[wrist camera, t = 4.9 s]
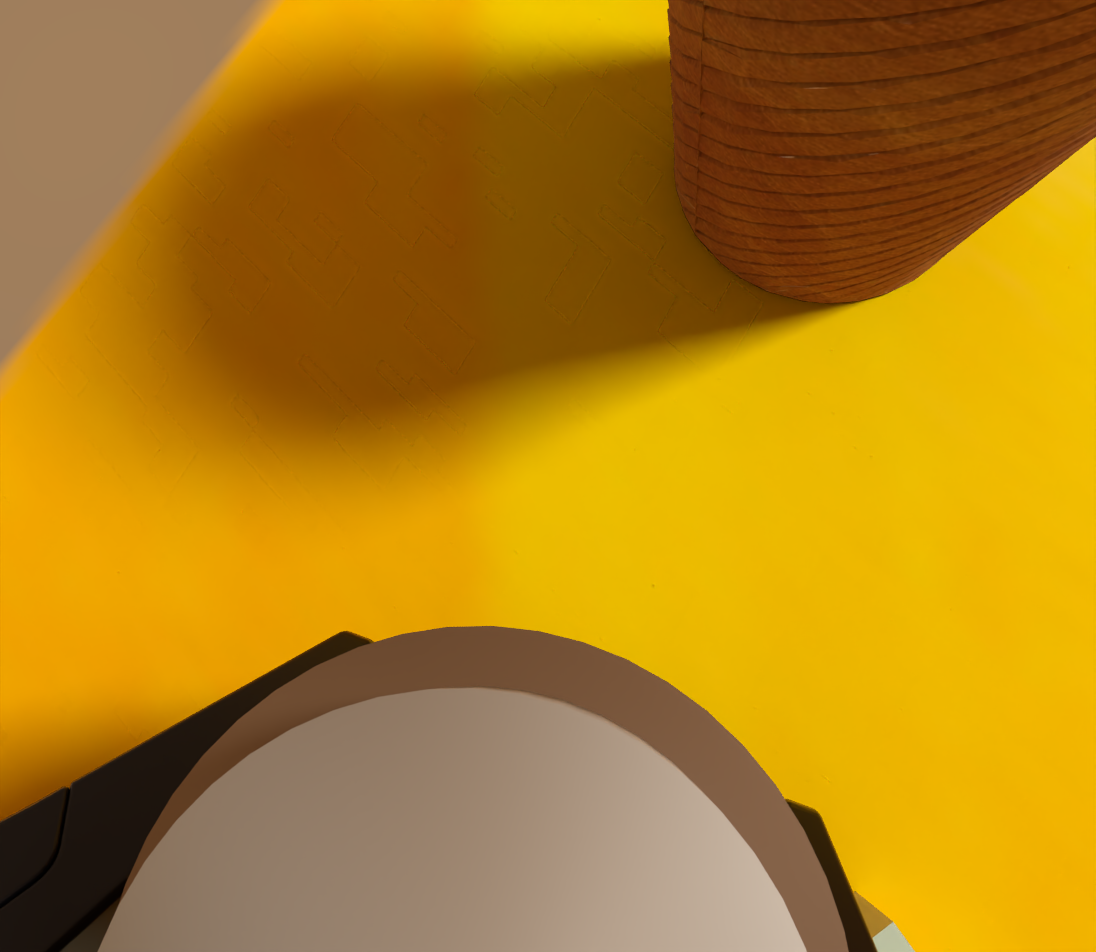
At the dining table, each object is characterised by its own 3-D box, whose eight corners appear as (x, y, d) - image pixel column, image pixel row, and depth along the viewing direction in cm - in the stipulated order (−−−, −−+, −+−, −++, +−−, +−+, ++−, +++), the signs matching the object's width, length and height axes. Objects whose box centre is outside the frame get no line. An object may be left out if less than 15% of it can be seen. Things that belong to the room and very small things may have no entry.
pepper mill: (515, 987, 16) (288, 1949, 4) (370, 753, 17) (-160, 951, 5) (732, 823, 16) (1129, 1241, 4) (579, 604, 17) (558, 455, 5)
